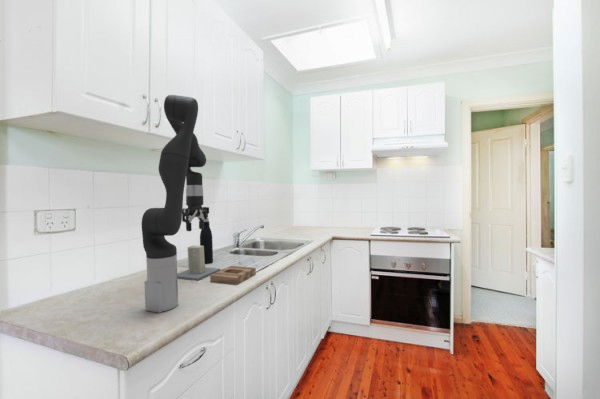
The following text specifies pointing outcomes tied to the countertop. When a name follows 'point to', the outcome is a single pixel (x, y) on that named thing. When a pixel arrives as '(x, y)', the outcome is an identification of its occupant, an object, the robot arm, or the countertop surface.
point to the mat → (197, 274)
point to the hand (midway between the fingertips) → (195, 230)
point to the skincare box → (196, 259)
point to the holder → (233, 275)
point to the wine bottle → (207, 241)
